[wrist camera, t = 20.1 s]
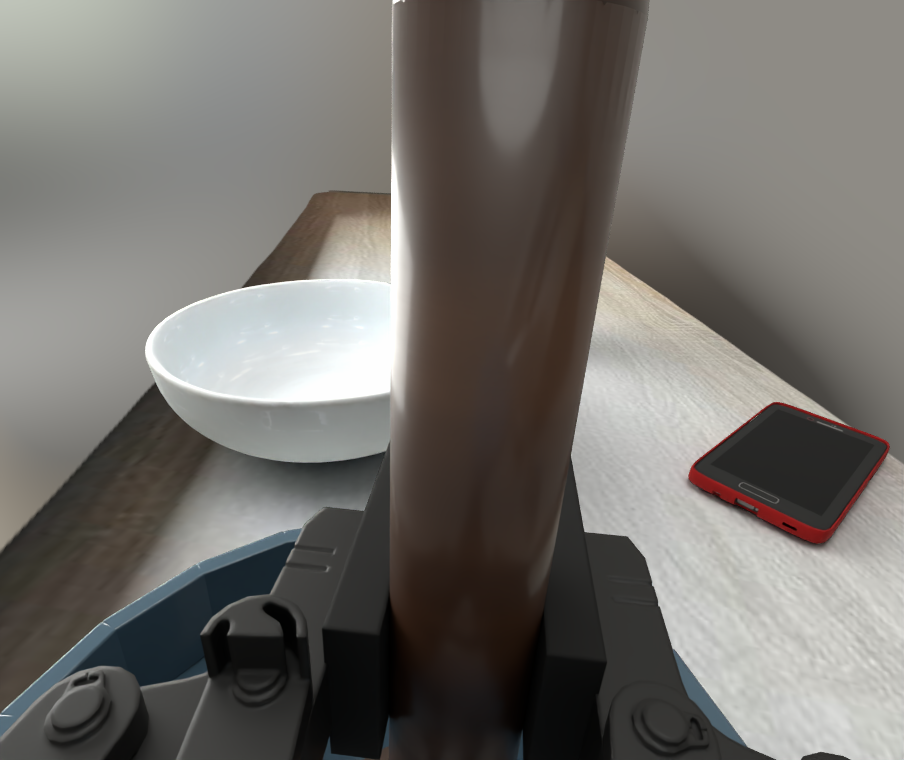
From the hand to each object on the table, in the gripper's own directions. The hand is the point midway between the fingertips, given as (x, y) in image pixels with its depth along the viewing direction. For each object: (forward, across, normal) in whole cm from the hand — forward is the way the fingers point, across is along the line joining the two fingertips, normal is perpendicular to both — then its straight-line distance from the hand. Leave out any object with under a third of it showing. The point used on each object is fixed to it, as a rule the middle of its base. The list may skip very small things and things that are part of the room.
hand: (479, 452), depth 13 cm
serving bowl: (+22, -11, -13) cm, 27 cm away
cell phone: (+20, +20, -12) cm, 31 cm away
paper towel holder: (-6, 0, -10) cm, 12 cm away
